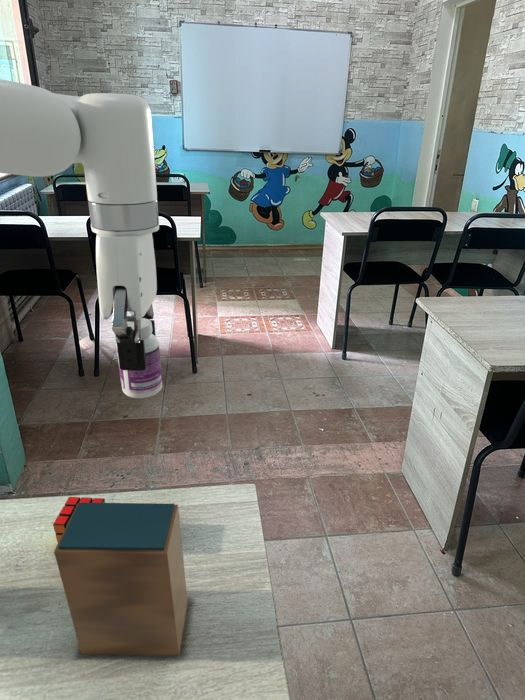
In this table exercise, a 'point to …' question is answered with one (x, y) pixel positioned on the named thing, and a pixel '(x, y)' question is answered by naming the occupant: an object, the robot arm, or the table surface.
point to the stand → (127, 596)
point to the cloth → (118, 526)
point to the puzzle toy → (70, 513)
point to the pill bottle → (150, 378)
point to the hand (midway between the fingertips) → (138, 356)
